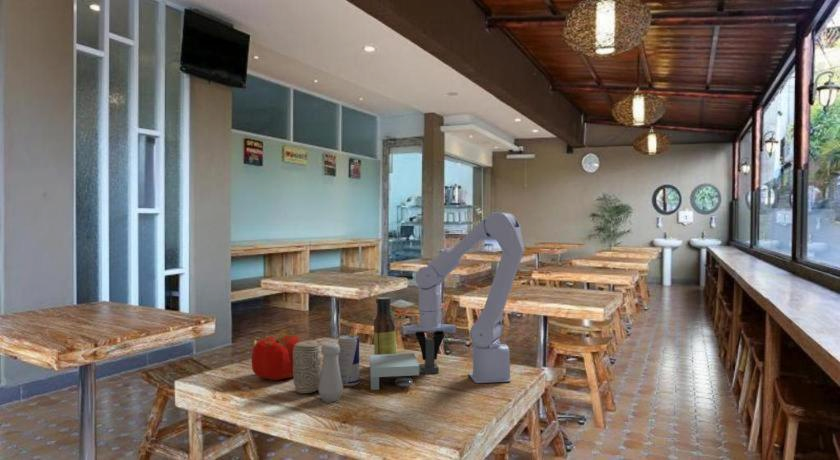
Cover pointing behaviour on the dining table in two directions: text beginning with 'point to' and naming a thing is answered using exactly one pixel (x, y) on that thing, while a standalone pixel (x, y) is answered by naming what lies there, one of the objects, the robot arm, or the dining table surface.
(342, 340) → the energy drink
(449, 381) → the dining table surface
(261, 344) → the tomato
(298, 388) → the carving
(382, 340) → the sauce bottle
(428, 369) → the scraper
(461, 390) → the dining table surface
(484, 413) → the dining table surface
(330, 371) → the salt shaker
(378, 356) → the pale grey angled bracket
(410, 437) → the dining table surface
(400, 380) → the token
